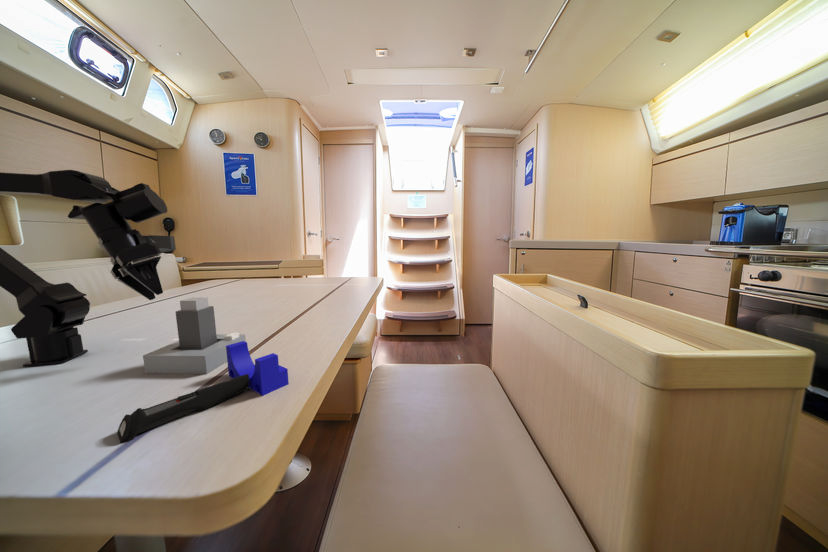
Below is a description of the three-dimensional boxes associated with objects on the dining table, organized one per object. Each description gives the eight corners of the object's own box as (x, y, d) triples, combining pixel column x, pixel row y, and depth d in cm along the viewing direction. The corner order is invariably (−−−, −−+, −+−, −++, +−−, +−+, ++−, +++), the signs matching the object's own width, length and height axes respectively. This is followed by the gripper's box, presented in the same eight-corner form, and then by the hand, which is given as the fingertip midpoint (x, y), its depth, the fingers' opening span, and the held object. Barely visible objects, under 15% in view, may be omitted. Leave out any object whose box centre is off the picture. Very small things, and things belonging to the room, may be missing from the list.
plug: (181, 364, 58) (174, 301, 56) (198, 355, 62) (192, 296, 60) (203, 364, 58) (196, 301, 56) (218, 355, 62) (212, 296, 60)
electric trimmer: (254, 394, 47) (253, 376, 47) (121, 447, 35) (118, 422, 35) (245, 387, 50) (243, 370, 49) (116, 434, 38) (113, 411, 37)
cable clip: (288, 385, 50) (286, 352, 49) (262, 397, 46) (259, 361, 45) (254, 368, 57) (251, 338, 56) (228, 377, 53) (225, 345, 52)
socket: (145, 373, 54) (142, 351, 54) (195, 348, 66) (193, 330, 66) (206, 373, 54) (204, 351, 53) (246, 349, 66) (244, 331, 65)
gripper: (167, 208, 61) (207, 275, 64) (153, 232, 73) (186, 287, 76) (96, 222, 53) (145, 297, 56) (92, 246, 64) (133, 307, 68)
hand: (156, 296), depth 64 cm, fingers open, 9 cm apart
